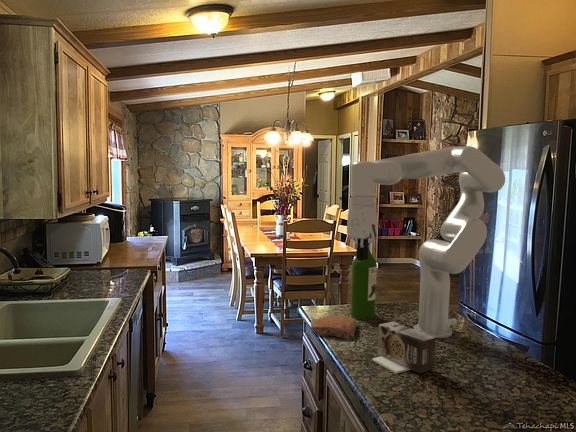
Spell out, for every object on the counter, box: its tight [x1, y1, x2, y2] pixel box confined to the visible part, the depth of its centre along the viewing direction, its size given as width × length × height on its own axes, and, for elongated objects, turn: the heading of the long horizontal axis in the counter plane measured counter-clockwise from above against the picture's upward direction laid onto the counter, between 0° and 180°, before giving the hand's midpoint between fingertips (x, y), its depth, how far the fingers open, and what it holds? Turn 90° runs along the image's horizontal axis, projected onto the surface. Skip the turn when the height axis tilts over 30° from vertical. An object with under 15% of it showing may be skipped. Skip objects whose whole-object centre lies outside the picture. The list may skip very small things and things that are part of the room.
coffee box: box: [377, 321, 437, 374], centre depth 138 cm, size 9×6×16 cm
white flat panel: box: [372, 355, 412, 374], centre depth 138 cm, size 12×10×1 cm
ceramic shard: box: [310, 315, 357, 340], centre depth 165 cm, size 15×6×15 cm
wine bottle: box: [350, 244, 378, 321], centre depth 180 cm, size 9×9×32 cm
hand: (362, 259), depth 153 cm, fingers closed
